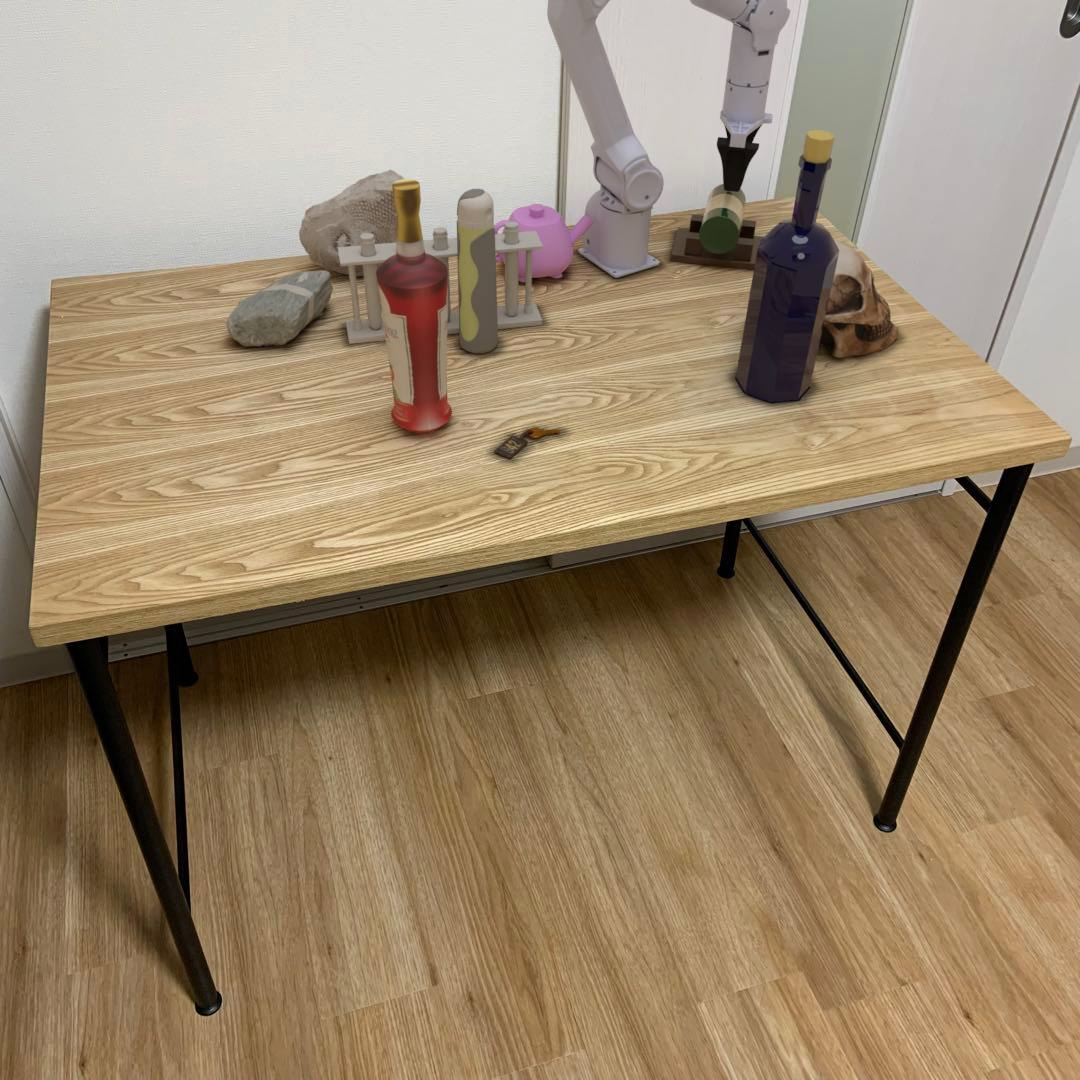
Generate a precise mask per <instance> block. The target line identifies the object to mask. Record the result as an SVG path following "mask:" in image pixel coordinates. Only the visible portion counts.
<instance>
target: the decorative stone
mask: <svg viewBox="0 0 1080 1080" xmlns="http://www.w3.org/2000/svg"><path fill="white" fill-rule="evenodd" d="M333 290H334V287H333V284H332V275H331V273H330V271H329V270H321V269H320V270H314V271H313V270H307V271H300V272H297V273H296V272H295V273H293V274H291V275H285V276H283V277H281V278H279V279H278V280H275V281H274V282H272V283H270V284H269V285H267V286H266V287H263V288H262V289H260V290H258V291H257V292H256V293H253V294H251V295H248V296H247V297H244V298H241V299H239V300H238V304H237V306H236V307H235V308H234V309H233V311H232V312H231V313H230V314H229V316H228V317H227V319H226V321H225V324H226V325H225V326H226V328H227V332H228V333H229V335H230V336H231V338H232V339H233V340H234V342H237V343H239V344H240V345H241V346H243V347H262V346H264V347H270V346H274V347H275V346H276V347H277V346H283V345H284V346H285V345H286V344H287V343H288V342H290V341H291V340H293V339H294V338H296V337H297V336H298V334H299V333H300V332H301V331H302V330H304V329H306V326H307V325H309V324H310V323H312V322H314V321H315V320H316V319H317V318H319V317H321V316H323V315H324V312H323V311H324V308H325V307H326V306H327V305H328V304H329V303H330V301H331V298H332V293H333Z"/></svg>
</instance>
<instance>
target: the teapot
mask: <svg viewBox="0 0 1080 1080" xmlns="http://www.w3.org/2000/svg"><path fill="white" fill-rule="evenodd" d="M510 221H513V222H517V223H518V227H519V230H518V232H529V231H536V232H537V234H538V236H539V239H540V241H541V243H542V245H543V249H537V250H532V278H534V279H536V278H545V277H550V278H552V279H561V278H562V277H563V273H564V272H565V270H566V269H568V267H569V266H570V265H571V263H572V262H573V258H574V245H575V244H576V243H577V242H578V241H579V240H580V239H581V238H582V237H583V236H584V233H585V232H586V231H587V230H588V229H589V228H590V227H591V226H592V225H593V224H594V221H593V220H592V219H591V218H590V217H589V216H588V215H586V214H585V213H584V215H583V216H582V217H581V218H580V219H579V220H578V221H577V222H576V224H575V225H574V226H573V227H572V228H571V229H570V230H569V228H568V227H567V224H566V222H565V220H564V218H563V217H562V215H561V214H560V212H558V211H557V210H556V209H555V208H553V207H551V206H547V205H543V204H541V203H532V204H530V205H527V206H520V207H518V208H516V209H514V210H513V212H512V213H511V214H510V215H509V217H508V219H503V220H500V221H498V222H496V223H495V224H494V228H495V234H499V230H500V229H501V228H503V229H502V233H501V234H505V230H504V227H505V223H506V222H510ZM504 243H505V242H504ZM518 243H519V242H518ZM500 261H502V263H503V264H504V265H505V252H502V253H497V254H496V262H500ZM525 275H526V251H518V282H521V283H525Z"/></svg>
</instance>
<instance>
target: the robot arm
mask: <svg viewBox="0 0 1080 1080" xmlns="http://www.w3.org/2000/svg"><path fill="white" fill-rule="evenodd" d="M610 1H611V0H547V9H546V11H547V13H546V16H547V20H548V24H549V26H550V29H551V31H552V34H553V37H554V40H555V42H556V44H557V47H558V50H559V52H560V55H561V58H562V60H563V63H564V65H565V68H566V71H567V73H568V77H569V78H570V81H571V84H572V86H573V90H574V91H575V95H576V96H577V97H576V98H577V99H578V102H579V104H580V107H581V109H582V113H583V115H584V118H585V120H586V123H587V126H588V127H589V130H590V134H591V136H592V139H593V143H592V144H591V145H590V149H591V152H592V156H593V166H592V172H593V177H594V179H595V180H596V182H597V183H598V184H599V185H600V186H599V187H600V189H599V190H597V191H595V192H594V193H593V194H592V195H591V196H590V198H589V199H588V201H587V203H586V204H585V205H586V206H585V209H584V215H585V214H586V215H588V216H589V217H590V218H591V219H592V220H593V221H594V224H593V225H592V226H591V227H590V228H589V229H588V230H587V231H586V232H585V233H584V234H583V243H582V244H583V245H582V247H580V248H578V249H577V251H578V253H579V254H580V255H581V256H582V257H584V258H586V260H588V261H590V262H591V263H593V264H594V265H595V266H597V267H598V268H600V269H601V270H603V271H604V272H606V273H607V274H608V275H610V276H611V277H613V278H615V279H619V278H621V277H624V276H629V275H631V274H635V273H638V272H641V271H644V270H648V269H650V268H654V267H657V266H659V265H661V264H660V260H658V259H657V258H656V257H654V256H652V255H651V254H650V253H648V251H649V240H650V230H651V219H652V210H653V208H654V205H655V204H656V203H657V201H658V200H659V199H660V197H661V195H662V193H663V190H664V186H665V185H664V183H665V182H664V176H663V173H662V172H661V170H660V169H659V168H658V167H656V165H654V164H653V163H652V161H651V160H650V157H649V154H648V152H647V150H646V149H645V148H644V146H643V144H642V143H641V142H640V140H639V139H638V137H637V136H636V134H635V132H634V129H633V127H632V123H631V120H630V117H629V115H628V113H627V109H626V106H625V103H624V100H623V98H622V94H621V91H620V89H619V86H618V83H617V81H616V78H615V74H614V72H613V69H612V66H611V63H610V60H609V57H608V55H607V51H606V49H605V46H604V43H603V40H602V37H601V34H600V32H599V30H598V26H597V22H596V21H597V19H598V17H599V15H600V13H601V12H602V11H603V10H604V8H605V7H606V6H607V5H608V4H609V2H610ZM689 2H690V3H691V5H692V6H695V7H697V8H700V9H702V10H704V11H707V12H708V13H711V14H712V15H715V16H718V17H720V18H721V19H724V20H726V21H728V22H730V23H732V30H731V39H730V47H729V53H728V62H727V71H726V79H725V85H724V94H723V101H722V109H721V111H720V112H719V113H720V115H719V119H720V121H721V122H722V124H723V126H724V130H725V133H726V137H721V136H717V141H716V148H717V151H718V154H719V156H720V160H721V166H722V180H723V181H722V184H723V185H724V190H725V191H734V192H739V190H740V189H742V186H743V183H744V179H745V176H746V173H747V171H748V170H747V169H748V168H749V165H750V163H751V162H752V159H753V158H754V156H755V155H756V154H757V153H758V151H759V147H760V143H757V142H754V139H756V136H757V134H758V132H759V130H760V129H761V127H762V126H763V125H764V124H772V123H773V117H774V115H773V113H768V112H766V106H767V100H768V99H767V98H768V93H769V88H770V87H769V86H770V80H771V72H772V65H773V60H774V54H775V53H774V52H775V47H776V45H778V41H779V36H780V33H781V31H782V30H783V28H784V27H785V26H786V24H787V22H788V20H789V18H790V14H791V9H789V8H788V0H689Z"/></svg>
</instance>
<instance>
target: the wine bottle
mask: <svg viewBox="0 0 1080 1080" xmlns="http://www.w3.org/2000/svg"><path fill="white" fill-rule="evenodd" d="M746 204H747V198H746V195H745V192H744V191H743V190H742V188H740V190H739V192H734V191H725V190H724V185H723V183H721V184H719V185H717V186H716V187H714V188H713V189H712V190H710V192H709V195H708V199H707V202H706V205H705V208H704V212H703V220H702V224H701V228H700V232H699V238H700V242H701V244H702V245H703V247H704V248H705V249H706V250H708V251H710V252H712V253H716V254H723V253H726V252H729V251H730V250H732V249H733V248H734V247H735V246H736V244H737V242H738V240H739V235H740V231H741V226H742V221H743V220H744V215H745V210H746V206H747V205H746Z"/></svg>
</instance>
